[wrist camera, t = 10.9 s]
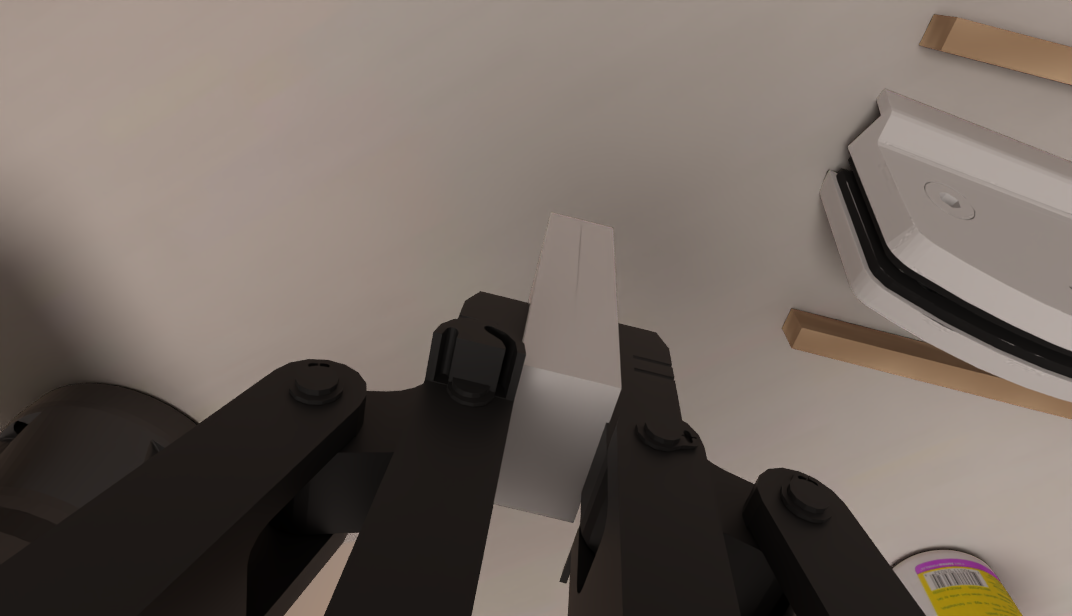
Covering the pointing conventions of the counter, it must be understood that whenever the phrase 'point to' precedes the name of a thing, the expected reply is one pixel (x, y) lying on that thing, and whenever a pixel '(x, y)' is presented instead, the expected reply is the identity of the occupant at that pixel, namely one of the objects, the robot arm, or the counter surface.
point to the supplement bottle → (954, 585)
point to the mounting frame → (909, 353)
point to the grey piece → (960, 240)
